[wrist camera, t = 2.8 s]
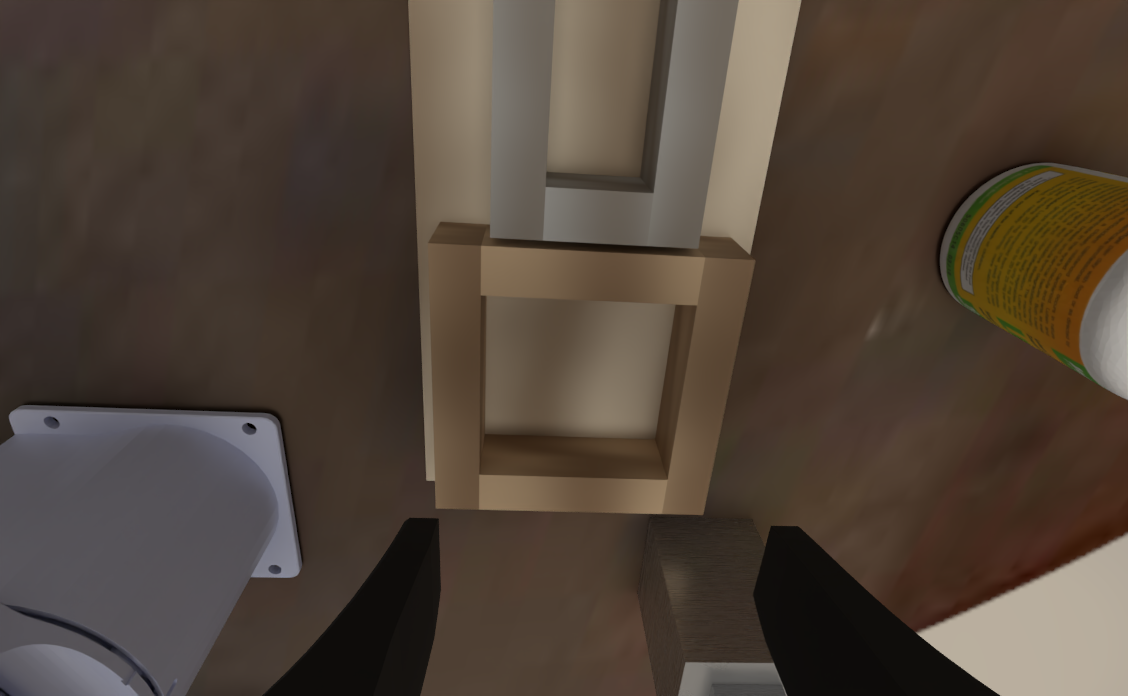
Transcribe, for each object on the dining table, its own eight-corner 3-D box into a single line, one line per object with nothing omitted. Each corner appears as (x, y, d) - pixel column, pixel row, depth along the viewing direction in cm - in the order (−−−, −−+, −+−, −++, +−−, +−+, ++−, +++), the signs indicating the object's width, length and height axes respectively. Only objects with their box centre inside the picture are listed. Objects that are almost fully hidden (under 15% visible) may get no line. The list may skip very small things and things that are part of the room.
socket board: (429, 468, 25) (415, 524, 22) (404, -255, 15) (372, -331, 12) (698, 476, 25) (719, 531, 22) (831, -211, 16) (899, -273, 13)
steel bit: (637, 593, 28) (670, 766, 21) (649, 516, 26) (689, 679, 19) (733, 594, 28) (795, 765, 22) (752, 518, 26) (827, 680, 20)
